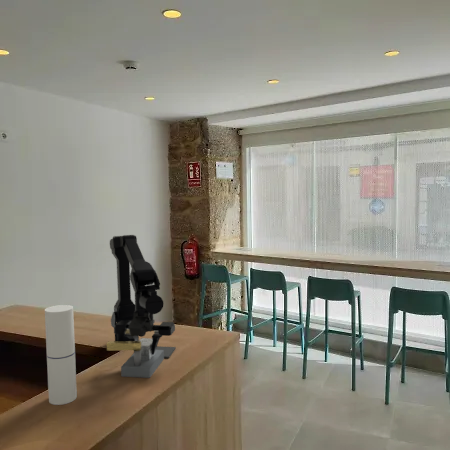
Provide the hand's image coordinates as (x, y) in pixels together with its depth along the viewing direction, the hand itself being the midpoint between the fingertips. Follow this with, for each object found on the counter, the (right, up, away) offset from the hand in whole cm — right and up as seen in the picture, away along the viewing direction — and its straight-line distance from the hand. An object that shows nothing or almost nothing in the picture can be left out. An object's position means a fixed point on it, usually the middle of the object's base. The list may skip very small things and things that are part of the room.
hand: (145, 353), depth 142 cm
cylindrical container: (-18, -6, -22) cm, 29 cm away
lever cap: (0, -1, 0) cm, 1 cm away
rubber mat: (+2, -3, +11) cm, 11 cm away
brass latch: (-5, +4, -8) cm, 10 cm away
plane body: (0, -4, -2) cm, 4 cm away
